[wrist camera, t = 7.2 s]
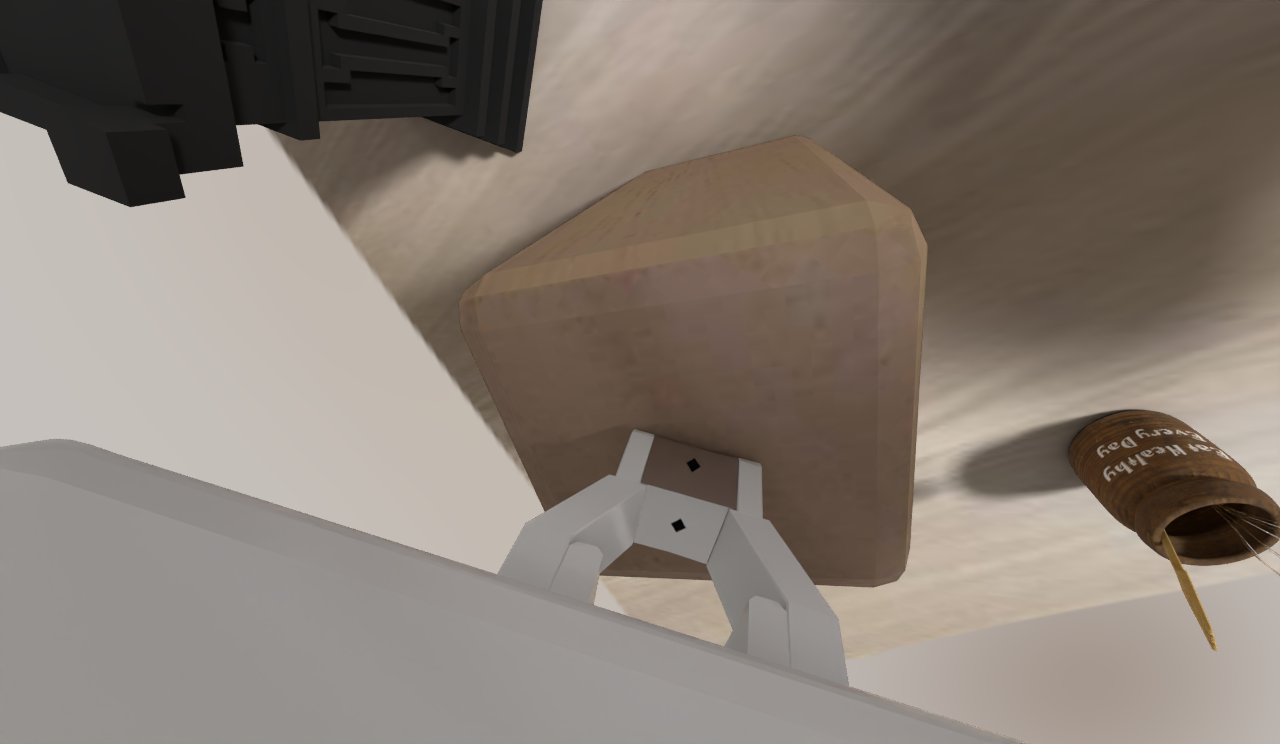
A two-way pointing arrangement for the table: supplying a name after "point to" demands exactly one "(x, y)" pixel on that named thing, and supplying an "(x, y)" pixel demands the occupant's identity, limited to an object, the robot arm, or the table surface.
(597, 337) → the block
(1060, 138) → the table surface
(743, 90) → the table surface
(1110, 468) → the utensil holder
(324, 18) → the chess piece
